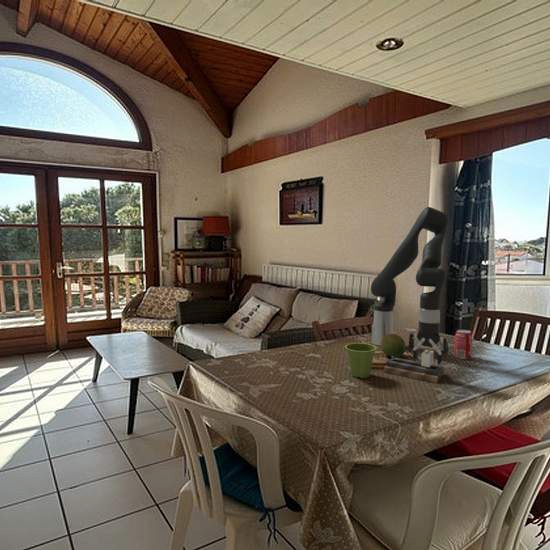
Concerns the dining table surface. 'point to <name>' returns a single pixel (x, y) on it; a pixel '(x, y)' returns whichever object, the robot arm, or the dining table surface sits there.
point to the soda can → (463, 344)
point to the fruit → (392, 345)
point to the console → (414, 369)
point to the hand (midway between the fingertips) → (427, 361)
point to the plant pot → (360, 358)
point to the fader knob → (427, 358)
